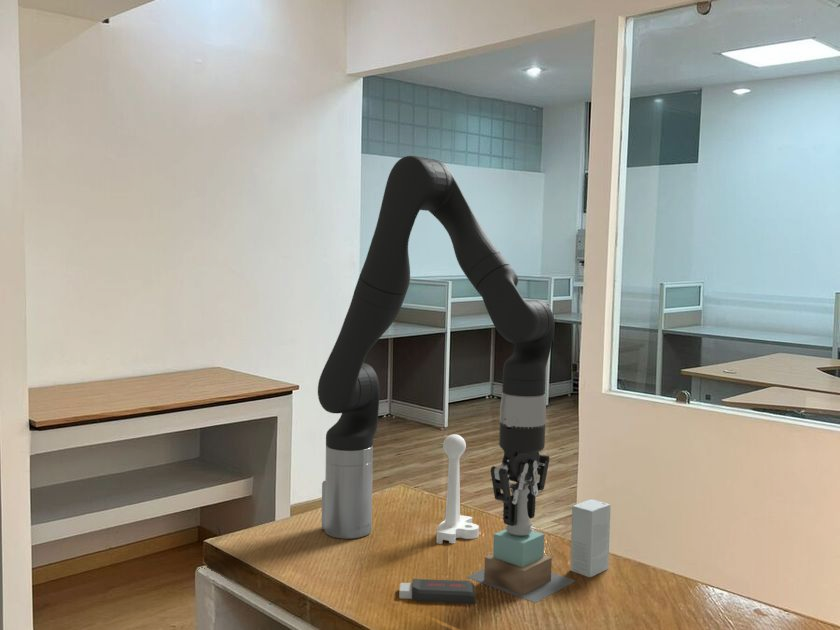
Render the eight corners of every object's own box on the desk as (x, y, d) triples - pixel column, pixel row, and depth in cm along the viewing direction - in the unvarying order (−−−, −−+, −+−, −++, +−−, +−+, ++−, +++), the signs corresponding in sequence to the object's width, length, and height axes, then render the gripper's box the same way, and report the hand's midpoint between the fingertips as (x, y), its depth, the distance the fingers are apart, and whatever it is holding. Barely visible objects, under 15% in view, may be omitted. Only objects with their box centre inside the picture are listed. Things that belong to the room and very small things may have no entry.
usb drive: (475, 608, 122) (475, 591, 122) (398, 605, 122) (399, 588, 122) (474, 594, 127) (474, 578, 127) (400, 591, 127) (401, 575, 127)
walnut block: (484, 580, 131) (484, 557, 130) (512, 567, 137) (513, 544, 136) (523, 594, 125) (524, 570, 125) (550, 580, 131) (551, 557, 131)
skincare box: (588, 563, 140) (590, 498, 139) (609, 570, 137) (611, 504, 136) (568, 572, 136) (571, 505, 135) (589, 580, 133) (592, 511, 132)
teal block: (493, 557, 130) (493, 533, 130) (514, 547, 135) (515, 525, 135) (522, 567, 126) (523, 543, 126) (543, 557, 131) (544, 534, 130)
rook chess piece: (531, 537, 128) (533, 490, 127) (504, 535, 129) (505, 487, 128) (532, 528, 132) (534, 482, 131) (506, 526, 133) (508, 480, 132)
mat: (466, 579, 132) (466, 576, 132) (508, 559, 141) (508, 557, 141) (535, 605, 123) (535, 602, 123) (575, 583, 131) (575, 580, 131)
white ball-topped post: (451, 524, 159) (453, 427, 158) (486, 530, 156) (489, 431, 155) (431, 542, 149) (433, 439, 147) (468, 548, 146) (471, 443, 144)
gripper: (528, 411, 137) (525, 506, 138) (477, 422, 126) (474, 525, 128) (565, 417, 132) (561, 516, 133) (515, 430, 121) (512, 537, 122)
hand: (519, 520), depth 130 cm, fingers open, 4 cm apart
